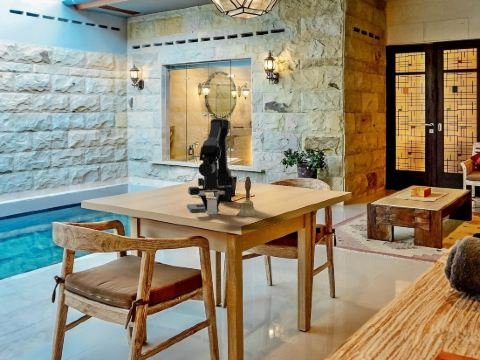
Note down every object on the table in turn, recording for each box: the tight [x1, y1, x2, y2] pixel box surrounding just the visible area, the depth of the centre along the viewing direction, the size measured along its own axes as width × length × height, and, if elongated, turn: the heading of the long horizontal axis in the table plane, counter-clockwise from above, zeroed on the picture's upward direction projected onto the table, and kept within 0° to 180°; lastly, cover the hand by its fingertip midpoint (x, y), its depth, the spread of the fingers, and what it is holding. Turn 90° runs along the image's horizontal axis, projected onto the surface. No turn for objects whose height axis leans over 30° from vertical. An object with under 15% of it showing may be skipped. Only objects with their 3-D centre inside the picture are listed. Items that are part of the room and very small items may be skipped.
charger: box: [205, 197, 218, 215], centre depth 219 cm, size 4×4×6 cm
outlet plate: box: [186, 202, 220, 213], centre depth 229 cm, size 12×12×2 cm
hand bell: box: [237, 176, 258, 217], centre depth 215 cm, size 8×8×16 cm
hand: (211, 210), depth 220 cm, fingers closed on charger, 4 cm apart
